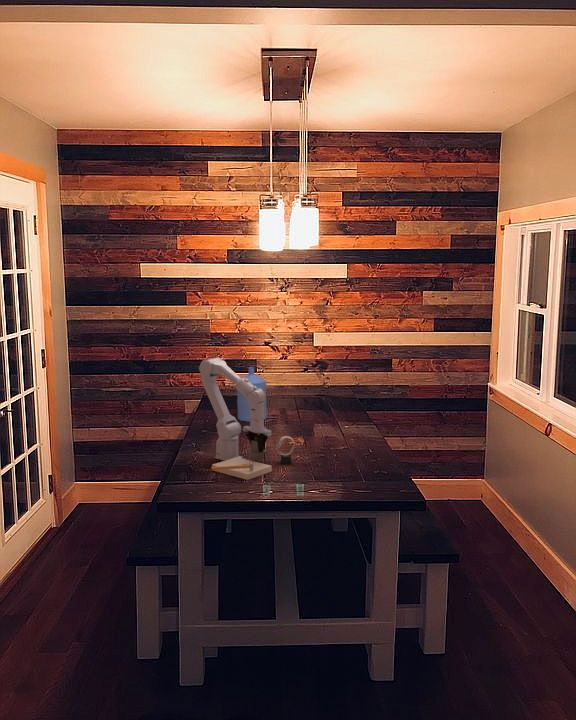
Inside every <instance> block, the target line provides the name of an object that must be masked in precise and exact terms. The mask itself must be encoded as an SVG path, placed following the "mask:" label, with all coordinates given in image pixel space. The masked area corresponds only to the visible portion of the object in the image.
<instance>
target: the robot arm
mask: <svg viewBox="0 0 576 720" xmlns="http://www.w3.org/2000/svg"><path fill="white" fill-rule="evenodd" d="M198 370H199V372H200V375H201V376H200V377H201V383H202V385H203V388H204V389H205V390H204V391H205V392H206V395H207V398H208V400H209V401H210V404H211V407H212V408H213V410H214V414H215V415H216V417H217V422H216V424H215V427H216V429H217V435H218V437H219V438H217V441H216V442H215V443H216V444H215V447H216V448H215V449H216V450H215V451H216V455H215V457H214V459H217V460H220V461H226V460H229V459H232V458H235V457H238V458H242V459H244V457H243V456H241V455H239V454H240V453H239V437H240V434H241V432H242V430H243V432H247V433H245V436H246V437H247V439H248V441H249V443H250V446H251V440H254V437H255V436H256V437H257V440H258V448H259V452H261V451H264V450H265V445H266V442H267V441H268V439H269V437H271V436H272V435H273V433H272V430H270V429H267V428H266V426H265V420H264V401H265V399H266V400H267V392H266V393H265V391H264V390H263V389H261V388H259V389H258V388H257V387H256V386H254V385H252V384H251V383H250V382H249V380H248V379H245V378H244V377H242V378H241V377H240V376H239V375H238V374H237V373H236V372H235V371H233V370H232V368H230V366H228V365H227V362H226V360H223V359H222V358H221V357H218V356H217V357H214V358H209V359H204V360H201V362H200V365H199V367H198ZM220 375H222V376H223V377H224V378H225V379H227V380H228V381H230V382H232V383H233V384H234V385H235V389H236V391H237V390H238V391H239V392H241V393H242V394H243V395H244V396H245V397H247V401H248V403H249V407H250V422H249V423H250V425H245V426H243V427H242V426H241V424H240V422H238V419H237V418H236V417H235V416H233V415H231V413H230V411H229V409H228V407H227V405H226V402H225V400H224V398H223V395H222V393H221V391H220V389H219V386H218V383H217V382H216V381H217V379H218V377H219V376H220ZM242 428H243V429H242Z"/></svg>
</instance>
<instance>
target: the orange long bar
mask: <svg viewBox="0 0 576 720" xmlns="http://www.w3.org/2000/svg"><path fill="white" fill-rule="evenodd" d="M240 468H249V469H250V470H253V469H254V463H249V465H236V466H221V467H212V466H211V471H213V470H224V469H240Z"/></svg>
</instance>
